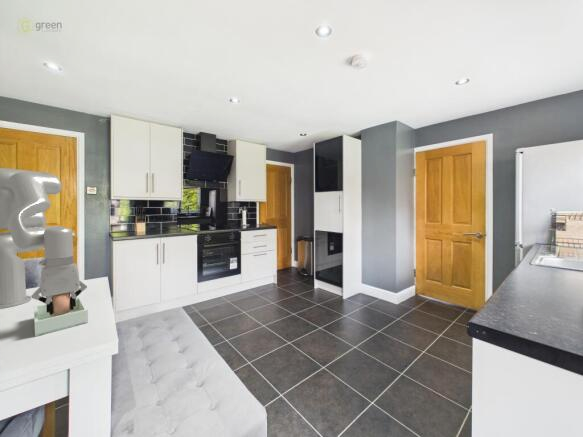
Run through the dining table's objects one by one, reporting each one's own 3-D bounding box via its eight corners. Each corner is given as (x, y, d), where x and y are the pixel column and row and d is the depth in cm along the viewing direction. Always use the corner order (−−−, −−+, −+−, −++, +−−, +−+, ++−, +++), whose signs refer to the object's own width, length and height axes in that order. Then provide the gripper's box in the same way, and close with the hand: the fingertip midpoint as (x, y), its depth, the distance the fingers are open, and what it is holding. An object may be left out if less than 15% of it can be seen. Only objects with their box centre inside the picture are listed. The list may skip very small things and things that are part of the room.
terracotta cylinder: (48, 314, 87) (47, 295, 86) (64, 308, 92) (63, 290, 91) (59, 316, 86) (58, 296, 85) (74, 310, 91) (73, 291, 90)
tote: (34, 319, 93) (34, 306, 93) (81, 308, 103) (80, 297, 102) (35, 336, 81) (34, 322, 81) (87, 322, 91) (87, 309, 91)
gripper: (24, 268, 79) (27, 322, 80) (91, 259, 91) (93, 307, 92) (24, 264, 84) (27, 315, 85) (88, 256, 97) (89, 301, 98)
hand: (61, 310), depth 89 cm, fingers closed on terracotta cylinder, 4 cm apart
